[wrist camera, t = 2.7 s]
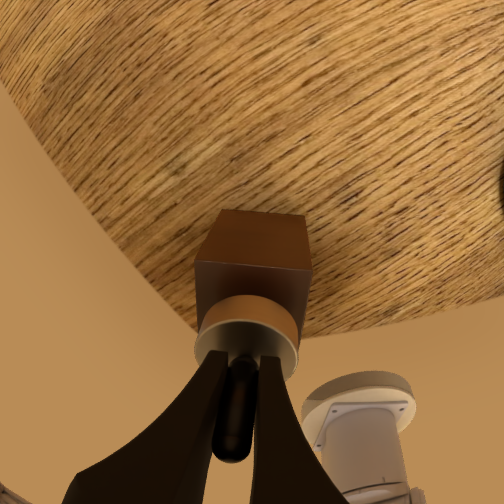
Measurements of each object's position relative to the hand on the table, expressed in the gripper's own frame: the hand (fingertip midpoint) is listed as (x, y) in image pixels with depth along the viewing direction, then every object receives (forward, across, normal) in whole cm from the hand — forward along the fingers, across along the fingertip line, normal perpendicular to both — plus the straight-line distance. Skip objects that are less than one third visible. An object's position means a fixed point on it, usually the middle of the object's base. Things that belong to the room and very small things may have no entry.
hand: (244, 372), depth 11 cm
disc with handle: (+2, 0, 0) cm, 2 cm away
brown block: (+10, 0, 0) cm, 10 cm away
